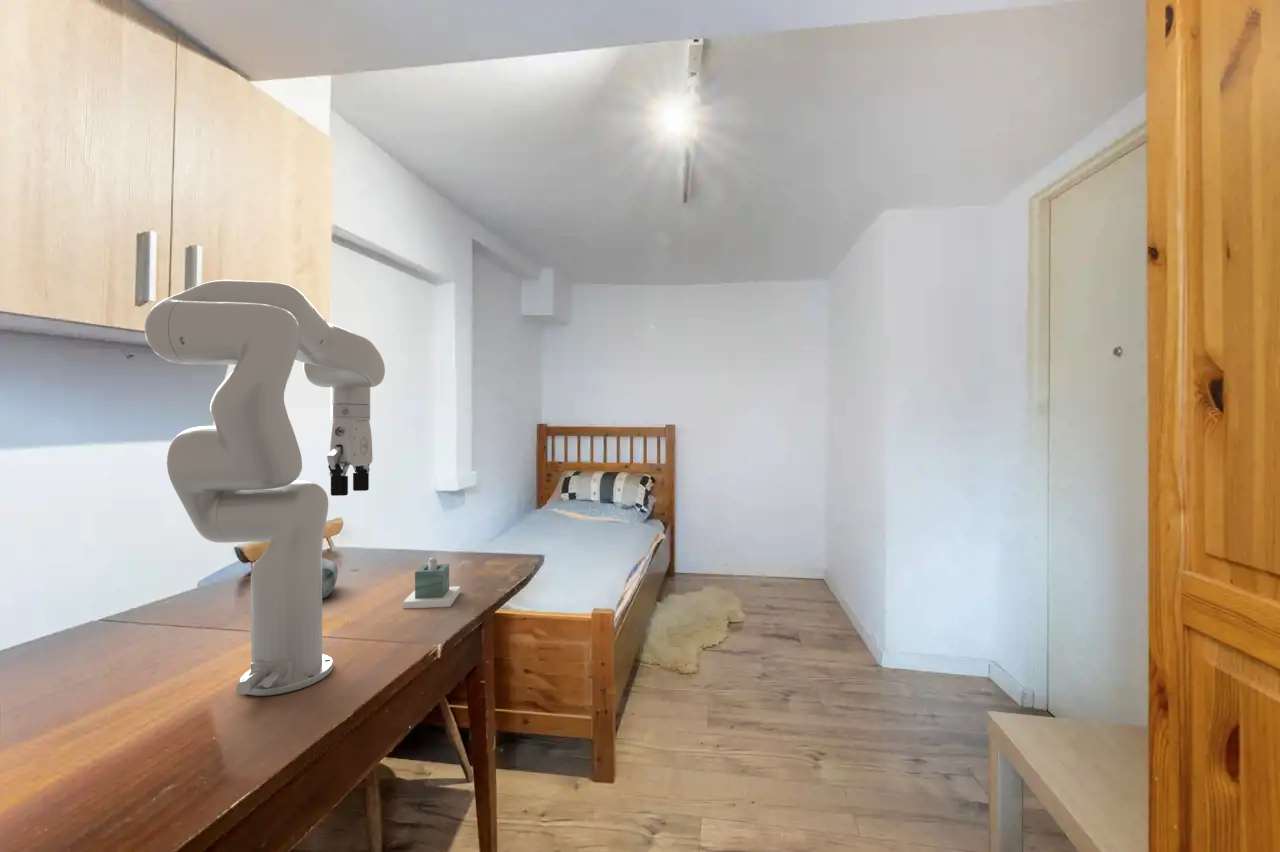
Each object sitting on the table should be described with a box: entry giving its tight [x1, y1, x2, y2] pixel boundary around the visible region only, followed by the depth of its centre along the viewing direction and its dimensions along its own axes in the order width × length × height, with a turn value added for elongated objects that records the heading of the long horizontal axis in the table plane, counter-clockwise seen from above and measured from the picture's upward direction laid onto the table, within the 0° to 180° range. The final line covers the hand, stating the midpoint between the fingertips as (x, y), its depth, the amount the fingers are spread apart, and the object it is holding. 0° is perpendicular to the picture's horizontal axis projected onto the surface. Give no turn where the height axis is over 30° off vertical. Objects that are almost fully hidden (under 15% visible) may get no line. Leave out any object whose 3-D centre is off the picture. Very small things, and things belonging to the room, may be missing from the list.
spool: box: [322, 557, 339, 600], centre depth 127 cm, size 14×10×10 cm
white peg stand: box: [402, 556, 461, 610], centre depth 123 cm, size 10×10×10 cm
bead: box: [414, 563, 450, 599], centre depth 123 cm, size 6×6×6 cm
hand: (350, 492), depth 115 cm, fingers open, 9 cm apart
